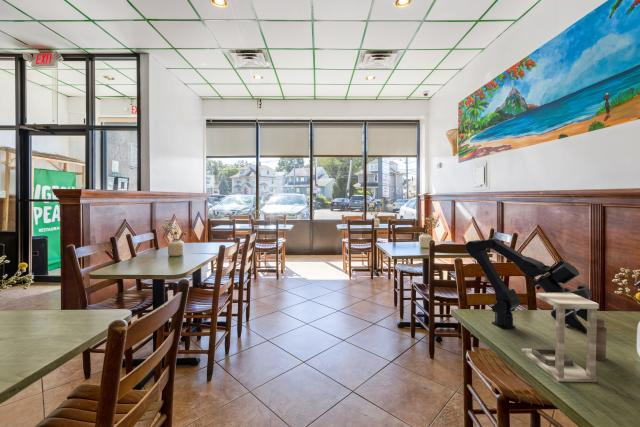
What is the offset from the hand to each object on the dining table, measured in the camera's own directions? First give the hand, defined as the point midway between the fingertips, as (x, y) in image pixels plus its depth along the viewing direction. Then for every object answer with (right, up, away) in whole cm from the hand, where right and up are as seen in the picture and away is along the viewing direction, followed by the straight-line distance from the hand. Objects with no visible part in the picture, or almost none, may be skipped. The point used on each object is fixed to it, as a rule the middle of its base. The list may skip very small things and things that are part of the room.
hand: (592, 329), depth 105 cm
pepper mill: (+1, -9, -1) cm, 9 cm away
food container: (+13, -8, +27) cm, 31 cm away
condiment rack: (-17, -9, -5) cm, 20 cm away
